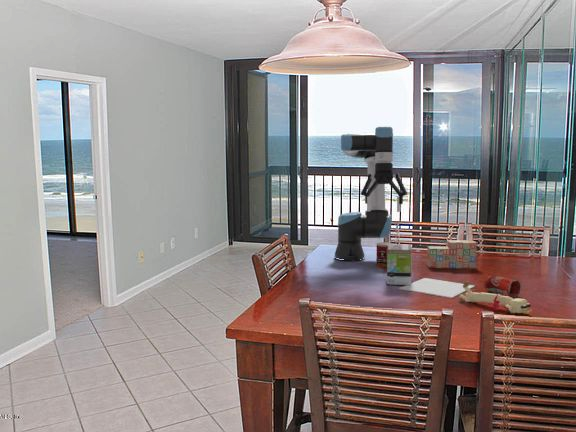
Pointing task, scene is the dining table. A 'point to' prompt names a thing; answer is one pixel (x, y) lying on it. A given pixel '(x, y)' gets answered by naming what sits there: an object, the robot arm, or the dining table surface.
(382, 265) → the canned food
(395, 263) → the tea box
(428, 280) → the mat
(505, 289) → the beverage can
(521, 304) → the cat figure
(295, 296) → the dining table surface
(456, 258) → the stack of blocks
